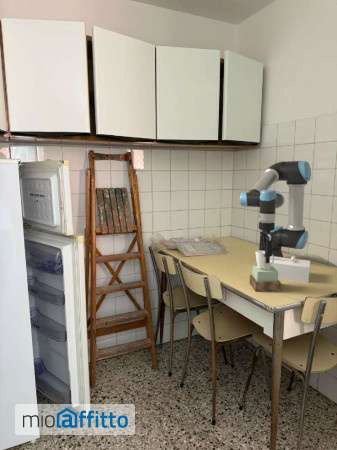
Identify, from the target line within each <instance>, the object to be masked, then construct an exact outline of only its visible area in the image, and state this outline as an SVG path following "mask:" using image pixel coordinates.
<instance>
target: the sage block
mask: <svg viewBox="0 0 337 450" xmlns="http://www.w3.org/2000/svg"><path fill="white" fill-rule="evenodd" d="M257 266H258V265H252V273H251V275H253V277H254V278H255V279H256V281H257V282H278V280H279V279H278V271H277V270H276V269H275V268H274V267H273V266H270V269H260V268H257Z"/></svg>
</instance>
